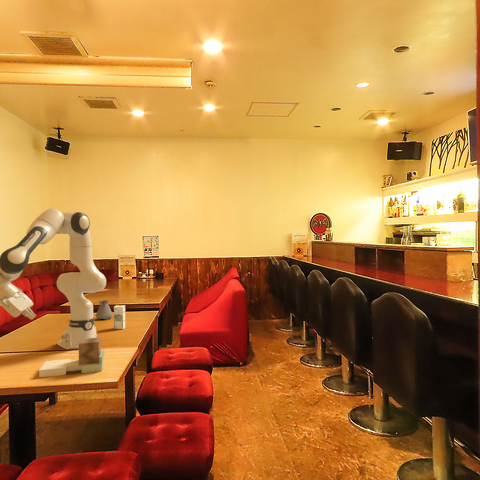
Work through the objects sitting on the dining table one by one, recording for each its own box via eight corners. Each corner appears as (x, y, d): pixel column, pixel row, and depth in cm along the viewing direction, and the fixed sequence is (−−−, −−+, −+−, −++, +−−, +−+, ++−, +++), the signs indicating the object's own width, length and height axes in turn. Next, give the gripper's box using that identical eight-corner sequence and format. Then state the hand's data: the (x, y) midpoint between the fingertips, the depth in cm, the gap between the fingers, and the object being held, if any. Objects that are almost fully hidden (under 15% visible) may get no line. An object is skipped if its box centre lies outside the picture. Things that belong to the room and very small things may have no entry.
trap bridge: (39, 377, 150) (39, 362, 150) (46, 367, 162) (45, 354, 162) (101, 371, 157) (101, 356, 157) (104, 362, 168) (103, 349, 168)
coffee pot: (96, 318, 269) (96, 297, 269) (113, 316, 273) (112, 296, 273) (94, 324, 249) (94, 301, 249) (112, 322, 252) (112, 300, 252)
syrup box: (125, 327, 238) (125, 304, 238) (123, 329, 232) (122, 306, 232) (116, 327, 238) (116, 305, 238) (113, 329, 232) (113, 306, 232)
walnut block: (78, 364, 156) (78, 343, 156) (81, 359, 164) (81, 338, 164) (98, 363, 158) (98, 342, 158) (100, 357, 166) (100, 337, 166)
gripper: (5, 293, 143) (33, 316, 146) (20, 287, 163) (45, 308, 166) (-8, 305, 142) (21, 328, 145) (9, 298, 162) (34, 318, 164)
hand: (34, 317), depth 155 cm, fingers closed
